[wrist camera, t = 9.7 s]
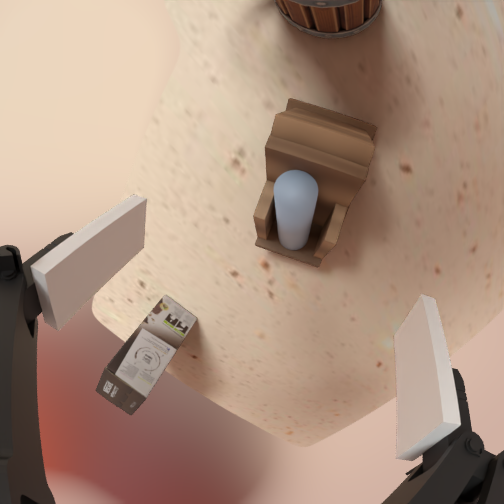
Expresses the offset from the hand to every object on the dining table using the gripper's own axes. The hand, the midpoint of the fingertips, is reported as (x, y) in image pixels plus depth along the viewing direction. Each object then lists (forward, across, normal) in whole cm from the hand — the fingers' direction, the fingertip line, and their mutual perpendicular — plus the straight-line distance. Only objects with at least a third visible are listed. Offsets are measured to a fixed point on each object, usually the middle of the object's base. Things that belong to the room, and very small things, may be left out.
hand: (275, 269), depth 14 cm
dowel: (+19, 0, -8) cm, 21 cm away
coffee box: (+22, -14, -31) cm, 40 cm away
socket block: (+22, 0, -2) cm, 22 cm away
